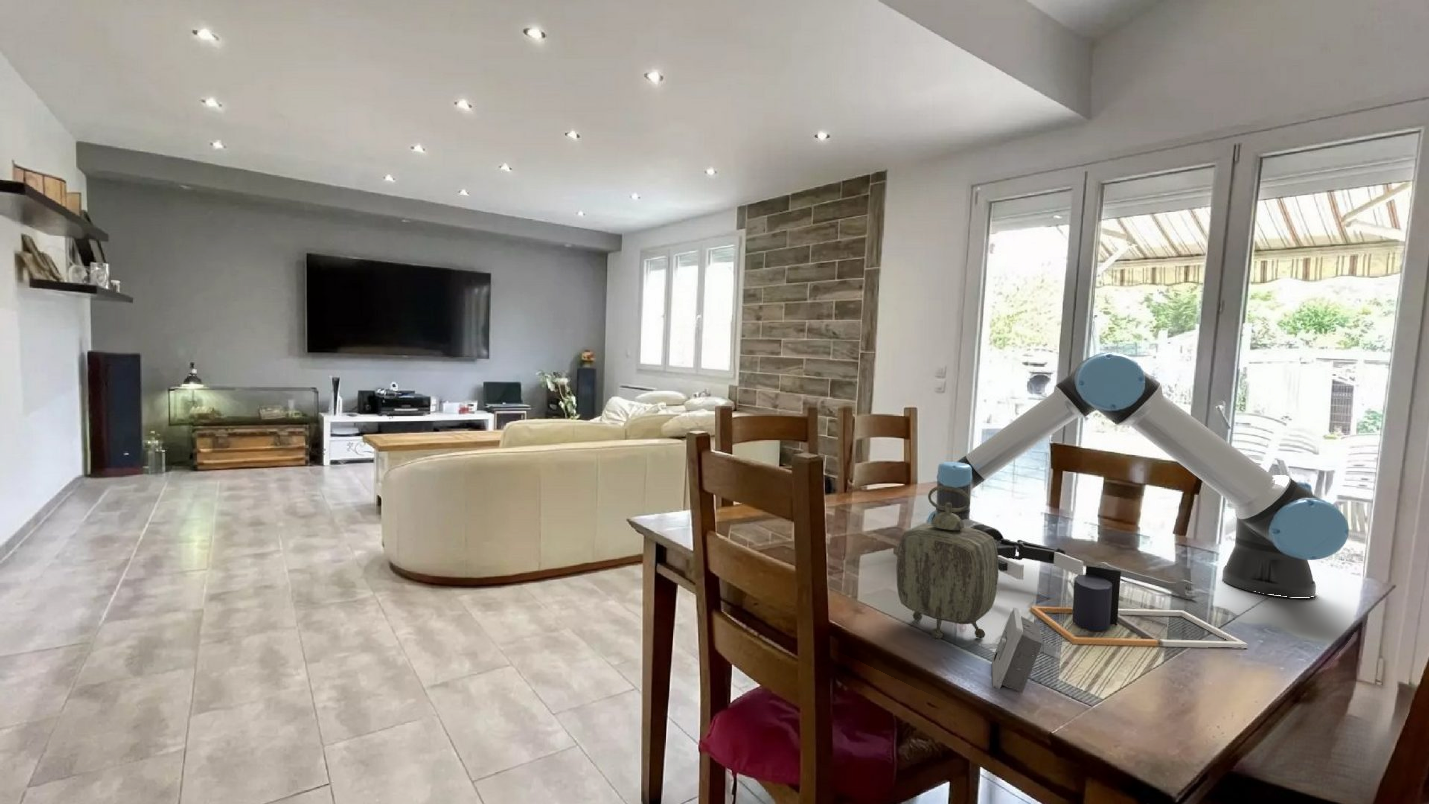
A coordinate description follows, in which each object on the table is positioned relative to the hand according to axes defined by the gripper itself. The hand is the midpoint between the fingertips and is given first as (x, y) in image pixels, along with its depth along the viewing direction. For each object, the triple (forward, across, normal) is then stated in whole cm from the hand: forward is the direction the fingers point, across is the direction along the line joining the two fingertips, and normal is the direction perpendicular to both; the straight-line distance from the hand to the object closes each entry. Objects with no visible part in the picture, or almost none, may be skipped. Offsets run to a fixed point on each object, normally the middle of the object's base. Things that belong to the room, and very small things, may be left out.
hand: (1052, 570), depth 123 cm
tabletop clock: (+7, +28, -7) cm, 30 cm away
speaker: (+10, -1, -7) cm, 12 cm away
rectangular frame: (+12, -7, -7) cm, 15 cm away
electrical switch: (+23, +28, -7) cm, 37 cm away
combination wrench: (-7, -30, -8) cm, 32 cm away
